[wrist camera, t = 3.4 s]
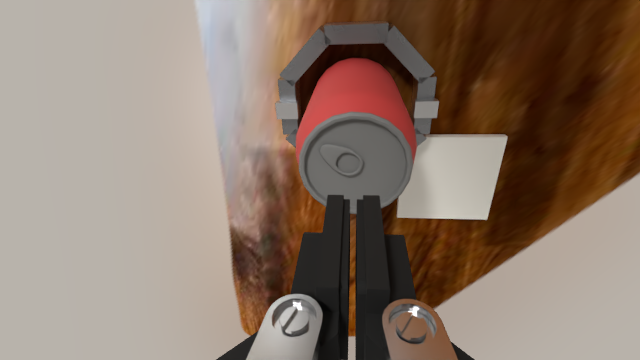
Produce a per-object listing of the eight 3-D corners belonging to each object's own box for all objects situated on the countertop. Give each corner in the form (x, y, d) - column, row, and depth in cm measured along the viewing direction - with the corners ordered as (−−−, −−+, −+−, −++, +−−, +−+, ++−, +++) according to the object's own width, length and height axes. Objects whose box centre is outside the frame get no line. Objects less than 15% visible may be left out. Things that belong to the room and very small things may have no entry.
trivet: (403, 134, 28) (404, 137, 27) (504, 134, 27) (507, 137, 26) (396, 213, 32) (397, 217, 31) (484, 215, 31) (487, 219, 30)
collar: (276, 24, 24) (267, 28, 22) (439, 18, 23) (449, 21, 21) (289, 161, 30) (283, 177, 27) (422, 162, 29) (428, 179, 26)
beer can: (341, 38, 25) (330, 73, 14) (414, 84, 26) (454, 148, 15) (299, 112, 28) (266, 186, 17) (366, 151, 29) (373, 241, 18)
